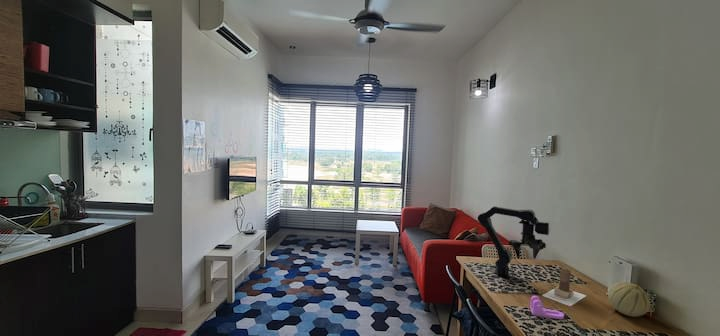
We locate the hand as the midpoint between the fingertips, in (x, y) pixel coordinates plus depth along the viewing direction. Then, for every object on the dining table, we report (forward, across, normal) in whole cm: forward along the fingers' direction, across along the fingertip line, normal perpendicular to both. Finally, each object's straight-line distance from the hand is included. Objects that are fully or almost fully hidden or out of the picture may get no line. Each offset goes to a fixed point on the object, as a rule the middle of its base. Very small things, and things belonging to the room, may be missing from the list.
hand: (526, 258), depth 179 cm
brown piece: (+12, +9, -20) cm, 25 cm away
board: (+13, +9, -20) cm, 26 cm away
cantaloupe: (+13, +28, -36) cm, 48 cm away
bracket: (+13, -10, -37) cm, 40 cm away
